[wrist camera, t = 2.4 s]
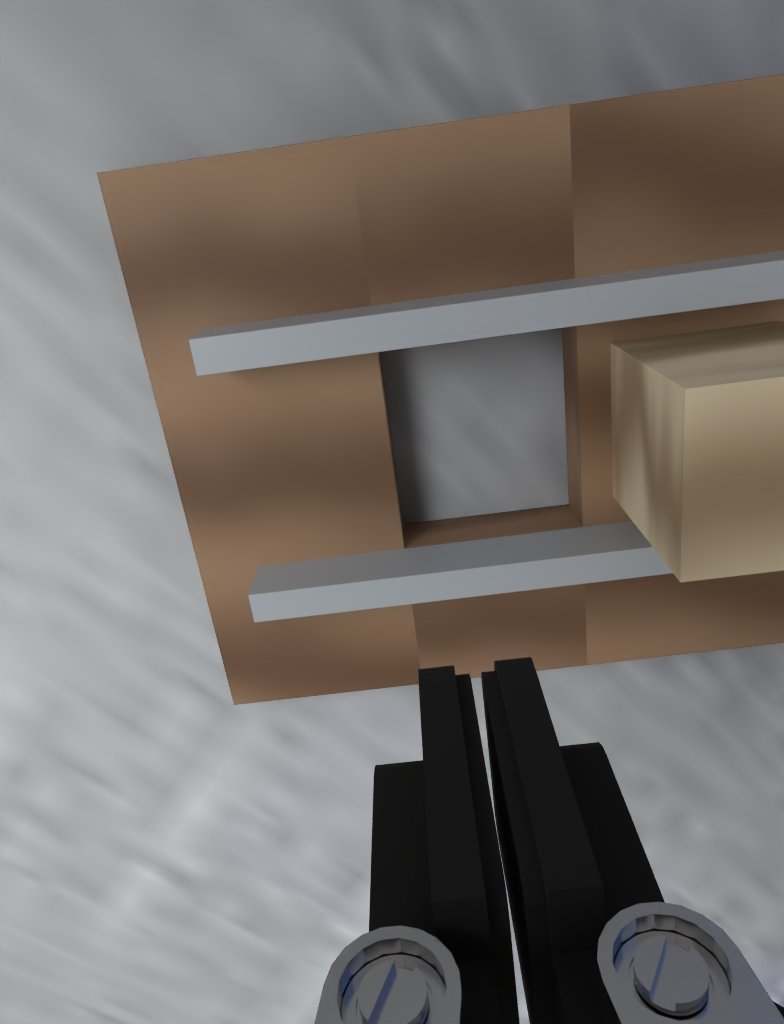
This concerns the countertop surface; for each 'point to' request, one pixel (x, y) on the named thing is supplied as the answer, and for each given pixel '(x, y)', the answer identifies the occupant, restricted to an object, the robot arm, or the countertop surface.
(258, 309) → the deck
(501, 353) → the countertop surface
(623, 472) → the block
